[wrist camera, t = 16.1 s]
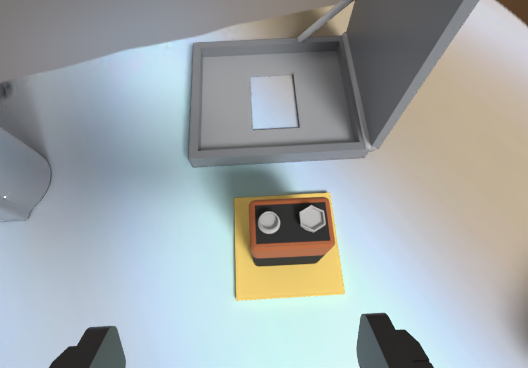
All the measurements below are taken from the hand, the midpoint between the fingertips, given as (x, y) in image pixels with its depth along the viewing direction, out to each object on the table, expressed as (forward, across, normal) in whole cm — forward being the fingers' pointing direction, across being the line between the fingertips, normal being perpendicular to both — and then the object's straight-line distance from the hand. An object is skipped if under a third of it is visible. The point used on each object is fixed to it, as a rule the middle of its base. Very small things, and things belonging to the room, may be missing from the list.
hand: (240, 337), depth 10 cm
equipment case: (+35, -4, -2) cm, 35 cm away
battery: (+20, -4, +11) cm, 23 cm away
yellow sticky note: (+21, -4, +11) cm, 24 cm away
